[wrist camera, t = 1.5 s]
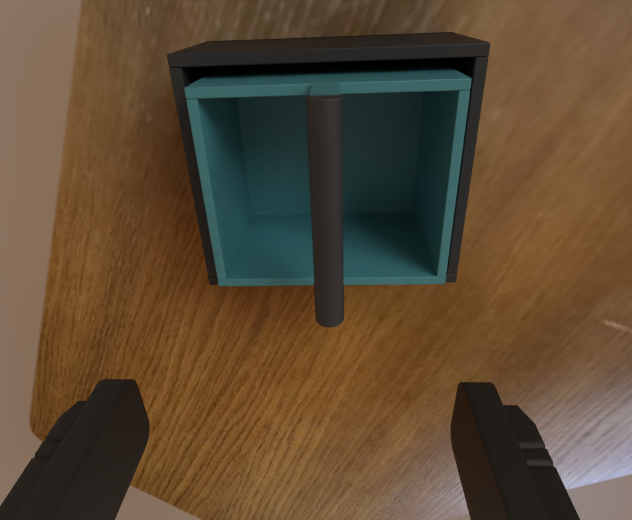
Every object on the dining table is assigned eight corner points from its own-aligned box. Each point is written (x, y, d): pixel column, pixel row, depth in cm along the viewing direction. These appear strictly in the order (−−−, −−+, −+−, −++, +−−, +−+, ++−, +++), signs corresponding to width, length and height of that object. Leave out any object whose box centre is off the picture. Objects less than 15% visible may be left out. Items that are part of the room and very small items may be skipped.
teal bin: (246, 219, 33) (201, 328, 22) (226, 63, 28) (154, 104, 17) (418, 215, 32) (461, 327, 21) (432, 55, 27) (499, 93, 16)
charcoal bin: (233, 230, 34) (209, 285, 27) (206, 41, 27) (166, 54, 21) (432, 226, 33) (456, 282, 27) (452, 31, 27) (491, 42, 20)
